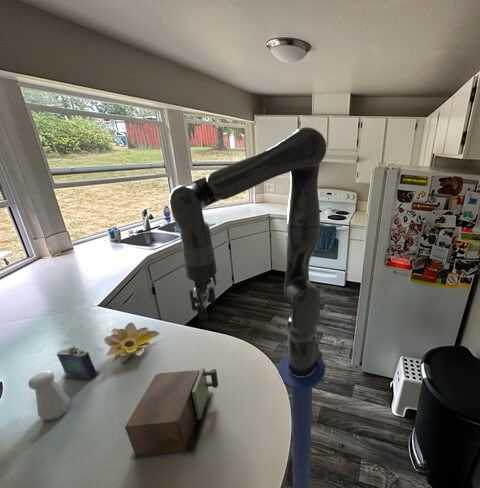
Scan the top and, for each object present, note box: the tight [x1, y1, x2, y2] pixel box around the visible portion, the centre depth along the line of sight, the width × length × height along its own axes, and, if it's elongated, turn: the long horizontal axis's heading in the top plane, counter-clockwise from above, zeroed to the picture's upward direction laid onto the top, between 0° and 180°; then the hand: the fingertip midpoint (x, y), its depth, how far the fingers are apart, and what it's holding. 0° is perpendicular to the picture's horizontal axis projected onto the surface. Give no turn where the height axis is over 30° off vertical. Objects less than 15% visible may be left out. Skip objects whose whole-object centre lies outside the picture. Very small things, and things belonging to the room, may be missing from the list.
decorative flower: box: [103, 322, 161, 363], centre depth 85 cm, size 15×11×10 cm
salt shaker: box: [27, 370, 71, 421], centre depth 64 cm, size 6×6×13 cm
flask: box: [56, 344, 98, 380], centre depth 76 cm, size 9×3×11 cm, turn 85°
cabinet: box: [124, 369, 212, 457], centre depth 63 cm, size 13×15×10 cm
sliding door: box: [192, 366, 219, 420], centre depth 67 cm, size 4×8×10 cm, turn 8°
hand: (207, 309), depth 73 cm, fingers open, 8 cm apart
